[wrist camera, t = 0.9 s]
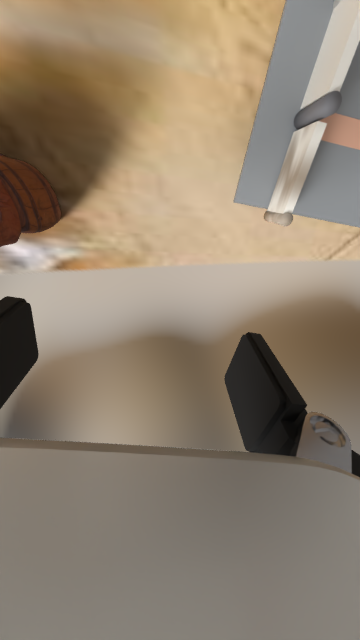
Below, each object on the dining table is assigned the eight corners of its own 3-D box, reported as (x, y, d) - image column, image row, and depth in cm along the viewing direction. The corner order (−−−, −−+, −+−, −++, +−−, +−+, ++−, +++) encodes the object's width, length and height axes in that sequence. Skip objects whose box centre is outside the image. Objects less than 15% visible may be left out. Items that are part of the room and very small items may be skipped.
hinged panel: (291, 131, 24) (317, 119, 20) (303, 134, 24) (331, 123, 20) (262, 220, 29) (278, 225, 25) (272, 222, 29) (289, 227, 25)
